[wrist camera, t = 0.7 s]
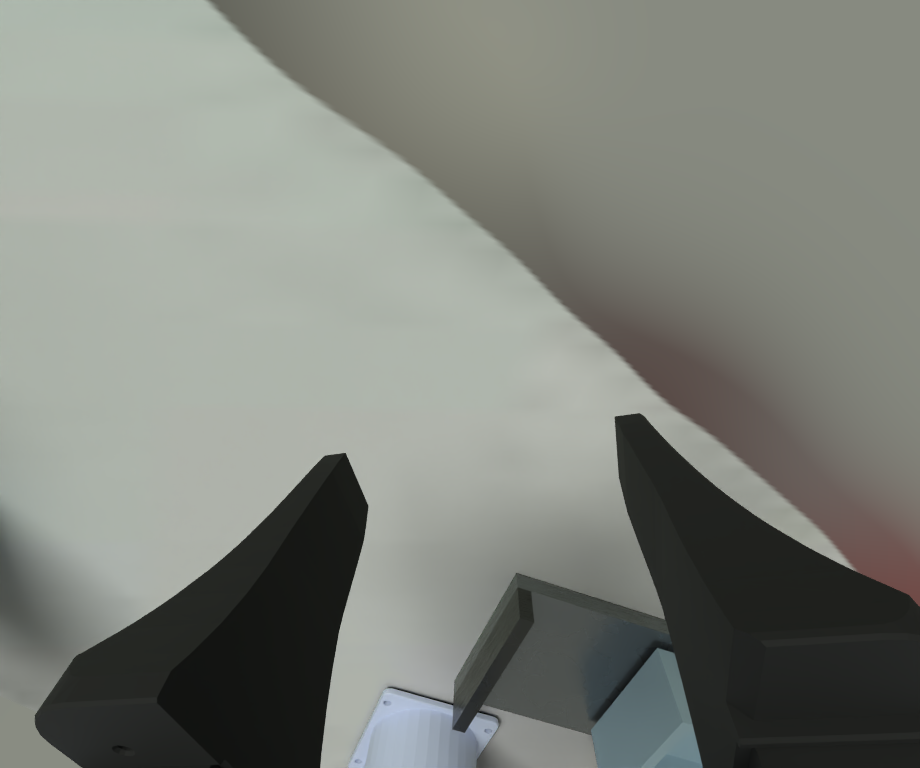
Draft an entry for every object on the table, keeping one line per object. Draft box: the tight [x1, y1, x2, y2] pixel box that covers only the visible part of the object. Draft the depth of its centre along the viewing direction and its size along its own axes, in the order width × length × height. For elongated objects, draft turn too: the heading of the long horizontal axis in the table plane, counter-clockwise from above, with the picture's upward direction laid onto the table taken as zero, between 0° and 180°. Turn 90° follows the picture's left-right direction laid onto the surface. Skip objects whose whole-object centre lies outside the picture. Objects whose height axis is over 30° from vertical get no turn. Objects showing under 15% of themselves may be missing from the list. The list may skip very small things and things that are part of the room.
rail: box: [452, 573, 674, 735], centre depth 31 cm, size 10×22×3 cm, turn 70°
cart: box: [591, 648, 703, 768], centre depth 29 cm, size 10×12×4 cm
